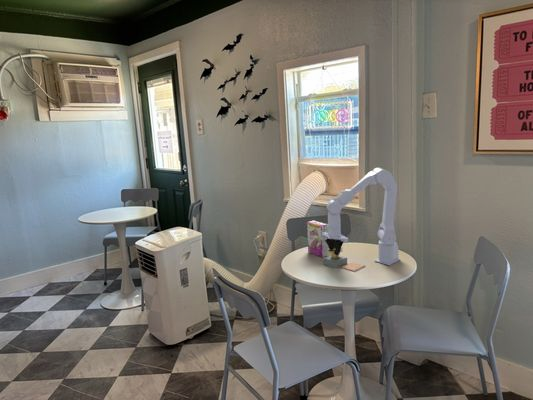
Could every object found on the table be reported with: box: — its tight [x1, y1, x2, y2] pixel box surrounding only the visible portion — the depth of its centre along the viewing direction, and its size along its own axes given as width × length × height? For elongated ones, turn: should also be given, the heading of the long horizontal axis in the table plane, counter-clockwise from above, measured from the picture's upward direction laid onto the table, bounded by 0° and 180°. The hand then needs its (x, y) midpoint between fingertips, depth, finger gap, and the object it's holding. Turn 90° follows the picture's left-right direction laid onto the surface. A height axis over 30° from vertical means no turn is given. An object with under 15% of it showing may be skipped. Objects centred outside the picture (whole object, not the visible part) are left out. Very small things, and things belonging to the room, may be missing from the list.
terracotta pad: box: [341, 261, 366, 273], centre depth 177 cm, size 8×7×1 cm
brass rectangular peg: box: [327, 247, 343, 260], centre depth 182 cm, size 8×2×7 cm, turn 131°
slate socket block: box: [322, 254, 348, 269], centre depth 183 cm, size 8×8×3 cm
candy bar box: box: [306, 220, 329, 258], centre depth 196 cm, size 11×5×16 cm, turn 34°
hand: (335, 254), depth 182 cm, fingers closed on brass rectangular peg, 2 cm apart
